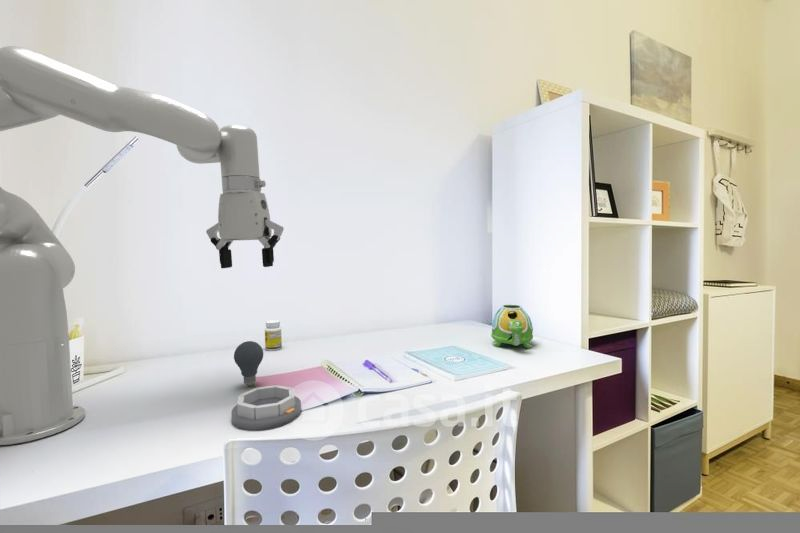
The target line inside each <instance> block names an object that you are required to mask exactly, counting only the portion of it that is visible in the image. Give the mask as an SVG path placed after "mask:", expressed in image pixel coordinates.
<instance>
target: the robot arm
mask: <svg viewBox="0 0 800 533" xmlns="http://www.w3.org/2000/svg"><path fill="white" fill-rule="evenodd" d="M57 116H64V117H66V118H69V119H71V120H74V121H76V122H80V123H83V124H84V125H87V126H91V127H93V128H95V129H98V130H102V131H105V132H110V133H121V132H134V133H140V134H144V135H146V136H147V135H148V136H151V137H155V138H157V139H160V140H162V141H166V142H168V143H171V144H173V145H175V146H176V149H177V151H178V153H179V155H180V156H181V157H182V158H184V159H185V160H186V161H188V162H189V163H194V164H201V165H202V164H203V165H205V164H214V163H215V164H217V163H220V174H221V189H222V193H220V195H219V201H218V212H217V213H218V214H217V215H218V216H217V217H218V218H217V220H218V221H217V223H216V224H214V225H212V226H210V227H209V228H208V229H206V234H207V236H208V239H210V242H211V244H213V245H214V246H215V249H216V250H217V251H218V255H219V256H218V257H219V264H220V269H228V268H232V267H233V258H232V249H231V248H230V246H231V245H232V243H233V242H234V241H257V240H258V242H259V243H260V244H261V245H262V246H263V248H261V256H262V257H261V259H262V267H264V268H269V267H273V266H274V262H275V257H274V248H275V247H276V245H277V243H278V242H279V241H281V237H282V234H283V232H284V229H285V228H284V227H283V226H282V225H280V224H278V223H276V222H274V221H272V220H271V216H270V214H271V213H270V210H269V205H268V201H267V197H266V194H265V193H264V192H261V191H262V188H265V187H266V182H265V180H261V177H260V165H259V164H260V163H259V162H260V161H259V150H258V149H259V148H258V137H257V133H256V131H255V130H254V129H252V128H250V127H247V126H245V125H244V126H243V125H237V124H235V125H234V124H232V125H231V124H230V125H225V126H222V127H221V128H220V127H219V125H218V124H217V122H215V120H213V119H212V118H211V117H210V116H208V115H206V114H205V113H204V112H202V111H200V110H197V109H195V108H193V107H191V106H187V105H185V104H183V103H180V102H179V101H177V100H174V99H171V98H169V97H166V96H163V95H159V94H157V93H153V92H149V91H144V90H140V89H137V88H136V89H135V88H131V87H127V86H126V87H125V86H121V85H118V84H115V83H112V82H111V81H107V80H105V79H103V78H101V77H98V76H96V75H93V74H90V73H89V72H86V71H84V70H82V69H78V68H76V67H75V66H72V65H69V64H66V63H64V62H61V61H59V60H58V59H55V58H53V57H50V56H48V55H44V54H43V53H40V52H37V51H35V50H33V49H29V48H26V47H22V46H16V45H7V46H3V47H0V132H3V131H8V130H11V129H15V128H16V129H17V128H20V127H23V126H28V125H31V124H35V123H39V122H43V121H46V120H50V119H53V118H56V117H57ZM272 230H273V233H272ZM218 234H219V236H218ZM272 234H273V235H272ZM75 273H76V266H75V262H74V260H73V258H72V256H71V255H70V253H69V252H68V251H67V249H66V248H65V247H64V246H63V244H62V243H61V241H60V240H59V239H58V237H57V236H56V235H55V233H54V232H53V231H52V229H51V228H50V227H49V226H48V224H47V223H46V221H45V220H44V219H43V218H42V216H41V215H40V214H39V212H37V210H36V209H35V208H34V207H33V206H32V205H31V204H30V203H29V202H28V201H26V200H25V199H24V198H22V197H21V196H18V195H16V194H14V193H12V192H8V191H7V190H4V189H3V188H2V187H1V186H0V446H8V445H15V444H21V443H28V442H30V441H31V442H32V441H36V440H40V439H43V438H46V437H50V436H53V435H56V434H57V433H61V432H63V431H66V430H68V429H70V428H72V427H73V426H75V425H76V424H77V425H78V423H79V422H81V421H82V420H83V419H84V417H85V416H86V415H85V413H86V412H85V408H84V407H83V406H80V405H75V404H74V400H73V387H72V386H73V385H72V384H73V382H72V366H71V351H70V350H71V349H70V338H69V337H70V335H69V325H68V324H69V323H68V312H67V305H66V300H65V295H64V294H65V293H64V289H65V288H66V287H67V286H68V285H70V284H71V282H72V280H73V278H74V276H75Z"/></svg>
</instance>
